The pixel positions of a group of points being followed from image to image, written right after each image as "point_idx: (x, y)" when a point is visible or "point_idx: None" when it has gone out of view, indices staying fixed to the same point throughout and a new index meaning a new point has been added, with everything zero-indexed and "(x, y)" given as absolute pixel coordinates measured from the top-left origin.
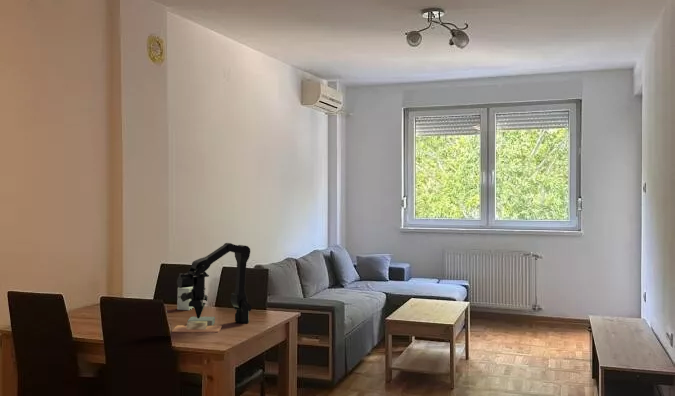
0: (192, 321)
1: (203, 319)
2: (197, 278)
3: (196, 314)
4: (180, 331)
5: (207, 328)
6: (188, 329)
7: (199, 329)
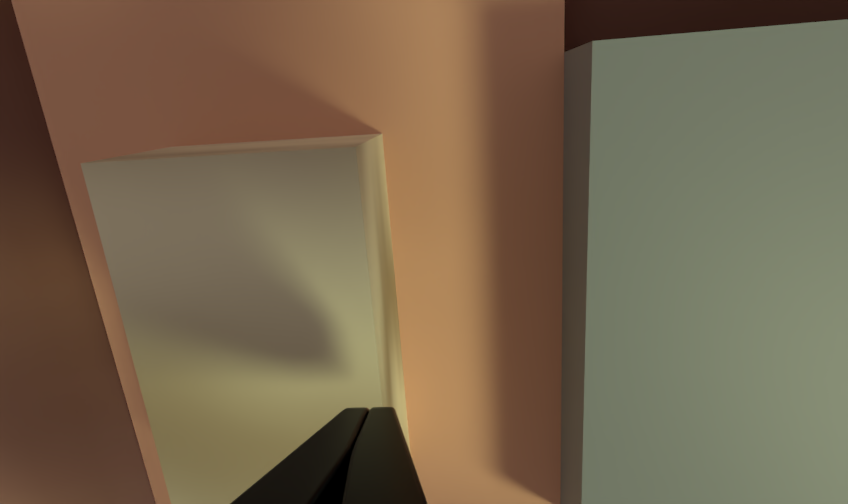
0: (310, 260)
1: (724, 418)
2: None
3: (272, 477)
4: (39, 53)
5: None
6: None
7: None
